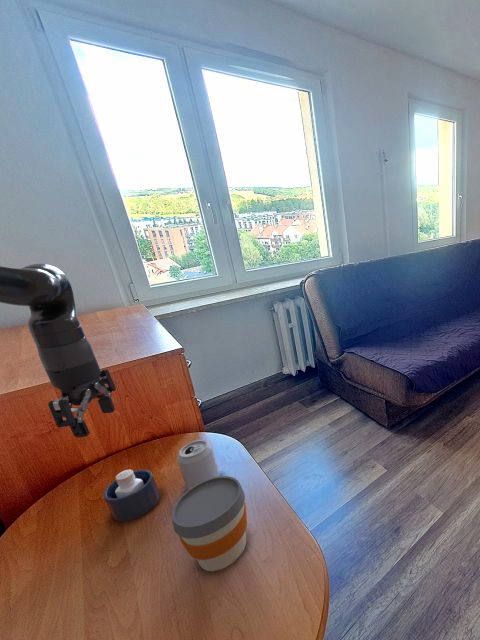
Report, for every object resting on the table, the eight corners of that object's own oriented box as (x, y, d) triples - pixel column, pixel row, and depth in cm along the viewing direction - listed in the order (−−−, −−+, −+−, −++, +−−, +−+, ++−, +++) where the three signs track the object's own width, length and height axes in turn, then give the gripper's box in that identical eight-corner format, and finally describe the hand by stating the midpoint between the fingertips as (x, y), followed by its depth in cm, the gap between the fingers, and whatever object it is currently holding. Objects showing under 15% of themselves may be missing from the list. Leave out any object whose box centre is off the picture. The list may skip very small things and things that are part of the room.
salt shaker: (121, 510, 81) (108, 480, 78) (135, 496, 85) (123, 467, 81) (137, 510, 81) (124, 481, 78) (150, 496, 85) (139, 468, 81)
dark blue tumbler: (128, 527, 78) (118, 505, 75) (105, 514, 81) (94, 492, 78) (168, 496, 86) (160, 475, 83) (145, 485, 89) (137, 465, 86)
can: (192, 475, 92) (181, 440, 88) (223, 469, 94) (213, 435, 90) (183, 497, 85) (170, 461, 81) (216, 490, 87) (205, 454, 83)
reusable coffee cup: (262, 552, 72) (249, 502, 67) (194, 595, 65) (173, 542, 59) (246, 513, 81) (234, 465, 76) (185, 546, 73) (166, 496, 68)
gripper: (74, 347, 75) (98, 407, 81) (17, 379, 63) (51, 447, 68) (112, 344, 77) (134, 403, 83) (64, 375, 64) (94, 442, 70)
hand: (96, 423), depth 76 cm, fingers open, 8 cm apart
